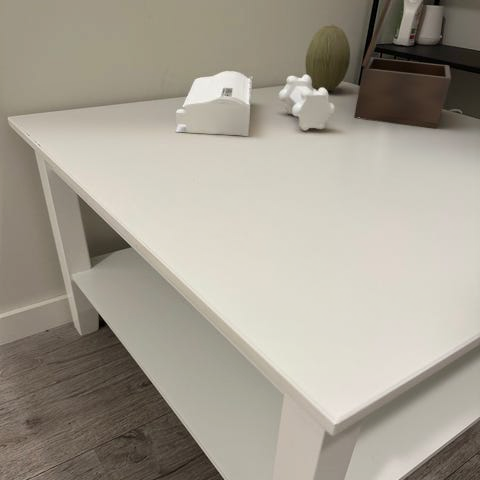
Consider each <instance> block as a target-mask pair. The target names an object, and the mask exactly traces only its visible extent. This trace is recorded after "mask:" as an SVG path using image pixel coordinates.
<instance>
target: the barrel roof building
mask: <svg viewBox="0 0 480 480" xmlns="http://www.w3.org/2000/svg"><path fill="white" fill-rule="evenodd" d="M227 90H228V91H227ZM252 90H253V76H249V77H247V76H246V75H245V74H243V73H241V72H238V71H235V70H234V71H232V70H226V71H220V72H219V73H216V74H213V75H212V76H203V77H198V78H195V79H194V80H193V83H192V85H191V88H190V89H189V91H188V94H187V96H186V98H185V101H184V102H183V105H182V108H184V109H182V108H181V109H180V108H178V109H177V110H176V111H175V119H176V120H175V121H176V124H175V125H177V127H176V129H175V133H189V134H207V135H224V136H243V137H248V136H249V130H250V120H251V119H250V118H251V117H250V116H251V105H252V94H253V93H252V92H253V91H252Z"/></svg>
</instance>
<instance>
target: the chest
mask: <svg viewBox="0 0 480 480" xmlns="http://www.w3.org/2000/svg"><path fill="white" fill-rule="evenodd" d="M450 69H451V68H450V65H447V64H438V63H429V62H428V63H427V62H419V61H408V60H399V59H390V58H380V57H372V56H371V58H370V60H369V61H368V63H367V65H366V67H364V66H363V69H362V73H361V78H360V84H359V88H358V93H357V94H358V95H357V99H356V104H355V109H354V116H353V118H354V117H360V118H366V119H365V120H368V119H371V120H370V121H375V120H377V122H383V123H384V122H385V123H391V124H399V125H405V126H414V127H421V128H427V129H428V128H429V129H435V130H436V129H437V128H438V125H439V123H440V118H441V114H442V112H443V108H444V104H445V101H446V98H447V94H448V92H449V91H448V90H449V87H450V84H451V80H452V76H451V70H450ZM360 118H359V119H360Z"/></svg>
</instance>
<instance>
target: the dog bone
mask: <svg viewBox="0 0 480 480" xmlns="http://www.w3.org/2000/svg"><path fill="white" fill-rule="evenodd" d="M285 80H286V81H285V82H286V84H285V85H284V88H283V89H281V90H280V91H279V94H278V99H279V100H280V101H281V102H284V104H285V105H284V109H285V112H286V113H287V114H288V115H293V116H294V117H298V126H299V128H300V129H301V130H302V131H304V132H305V131H308V130H309V129H317V130H323V129H325V127H326V126H327V125H326V122H327V121H328V119H329V117H330V116H332V115H333V114H334V112H335V108H336V107H335V104H334V103H332V102H330V100H329V98H330V97H329V96H330V95H329V91H327V90H326V89H325V88H319V90H317V89H315V88H314V87H313V86H312V85H311V84H312V80H311V78H310V76H309V75H307V74H306V73H305V74H303V75H302V77H297V76H296V75H289V76H288V77H287V78H286V79H285Z"/></svg>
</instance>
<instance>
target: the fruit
mask: <svg viewBox="0 0 480 480" xmlns="http://www.w3.org/2000/svg"><path fill="white" fill-rule="evenodd" d="M350 62H351V47H350V43H349V40H348V36H347V35H346V33H345V31H344V30H343V29H342V28H341V27H339V26H337V25H334V24H331V25H324V26H323V27H321V28H319V30H317V32H316V33H315V34H314V35H313V37H312V38H311V41H310V42H309V45H308V48H307V51H306V55H305V74H307V75H309V76H310V78H311V80H312V84H311V85H312V88H313V89H316V90H317V91H318V90H319V88H325V89H326V90H327V92H329V91H333V90H335V89H336V88H337V87H339V86H340V85H341V83H342V82H343V81H344V79H345V77H346V75H347V73H348V71H349V67H350Z"/></svg>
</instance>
